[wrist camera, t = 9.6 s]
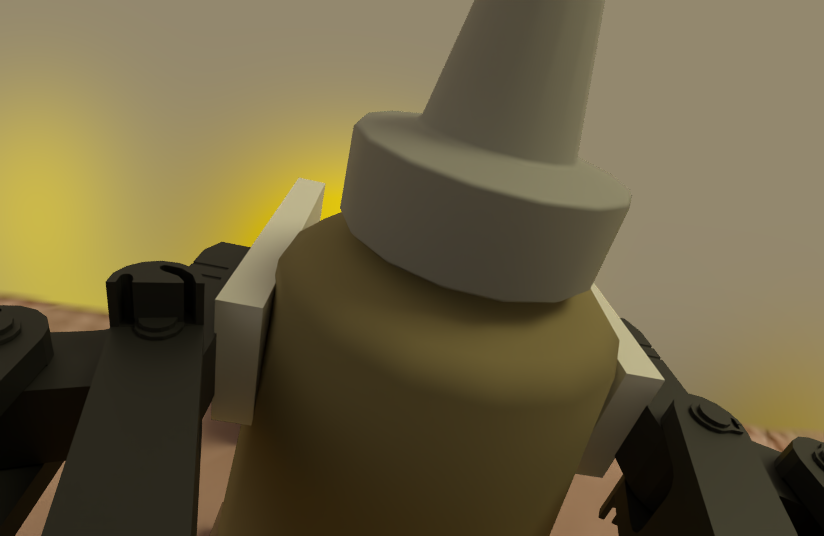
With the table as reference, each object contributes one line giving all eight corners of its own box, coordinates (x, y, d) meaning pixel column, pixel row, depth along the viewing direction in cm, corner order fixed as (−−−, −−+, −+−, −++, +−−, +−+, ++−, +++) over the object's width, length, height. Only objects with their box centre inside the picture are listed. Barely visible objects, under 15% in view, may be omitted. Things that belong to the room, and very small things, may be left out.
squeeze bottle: (450, 488, 18) (661, -22, 10) (511, 778, 11) (1332, -92, 3) (242, 479, 17) (294, -141, 9) (165, 814, 10) (40, -826, 2)
